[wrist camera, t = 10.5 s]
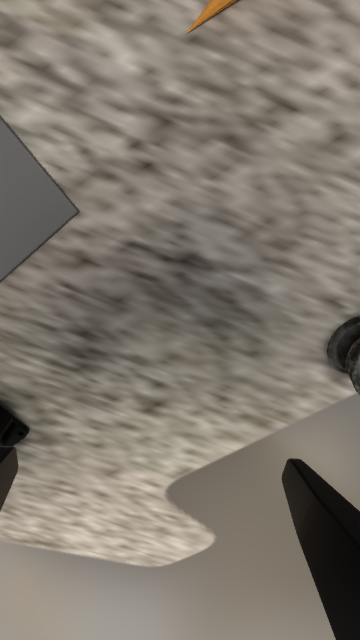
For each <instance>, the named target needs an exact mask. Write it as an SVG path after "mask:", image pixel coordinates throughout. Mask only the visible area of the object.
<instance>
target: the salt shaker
mask: <svg viewBox="0 0 360 640" xmlns="http://www.w3.org/2000/svg"><path fill="white" fill-rule="evenodd" d="M327 354H328V359H329V361H330V364H331V365H332V366H333V367H334V368H335V369H336V370H338V371H340V372H343V373H348V374H349V376H350V379H351V381H352V383H353V385H354V388H355V390H356V391H357V392H358V393H359V394H360V317H357V318H353V319H351V320H349V321H348V322H346V323H344V324H343V325H342V326H341V327H339V328H338V329H337V331H336V332H335V333H334V334H333V336H332V337H331V340H330V342H329V344H328V349H327Z"/></svg>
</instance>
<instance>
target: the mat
mask: <svg viewBox="0 0 360 640" xmlns="http://www.w3.org/2000/svg"><path fill="white" fill-rule="evenodd" d="M77 213H79V210H78V209H77V208H76V207H75V206H74V204H73V203H72V202H71V201H70V199H69V198H68V197H67V196H66V195H65V193H64V192H63V191H62V190H61V189H60V187H59V186H58V185H57V184H56V183H55V181H54V180H53V179H52V178H51V177H50V175H49V174H48V173H47V172H46V171H45V169H44V168H43V167H42V166H41V165H40V163H39V162H38V161H37V160H36V158H35V157H34V156H33V155H32V154H31V152H30V151H29V150H28V149H27V148H26V146H25V145H24V144H23V143H22V142H21V140H20V139H19V138H18V137H17V136H16V134H15V133H14V132H13V131H12V130H11V128H10V127H9V126H8V125H7V123H6V122H5V121H4V120H3V119H2V117H1V116H0V282H1V281H2V280H3V279H4V278H5V277H6V276H8V275H9V274H10V273H11V272H12V271H13V270H14V269H16V268H17V267H18V266H19V265H20V264H21V263H22V262H23V261H25V260H26V259H27V258H28V257H29V256H30V255H31V254H32V253H34V252H35V251H36V250H37V249H38V248H39V247H40V246H41V245H43V244H44V243H45V242H46V241H47V240H48V239H49V238H50V237H52V236H53V235H54V234H55V233H56V232H57V231H58V230H59V229H61V228H62V227H63V226H64V225H65V224H66V223H67V222H68V221H70V220H71V219H72V218H73V217H74V216H75V215H76V214H77Z"/></svg>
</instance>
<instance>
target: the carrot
mask: <svg viewBox="0 0 360 640" xmlns="http://www.w3.org/2000/svg"><path fill="white" fill-rule="evenodd" d="M236 1H237V0H211V1H210V3H209V4H208V5H207V7H206V8H205V9H204V11H203V12H202V13H201V15H200V16H199V17H198V19H197V20H196V21H195V23H194V24H193V25H192V27H191V28H190V29H189V31H188V32H190V31H191V30H193V29H194V28H196V27H197V26H199V25H200V24H202V23H203V22H205V21H206V20H208V19H209V18H211V17H213V16H214V15H216V14H217V13H219V12H220V11H222V10H223V9H225V8H226V7H228V6H229V5H231V4H233V3H234V2H236ZM188 32H187V33H188Z"/></svg>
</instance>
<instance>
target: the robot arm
mask: <svg viewBox="0 0 360 640" xmlns="http://www.w3.org/2000/svg"><path fill="white" fill-rule="evenodd" d="M21 431H22V432H21ZM28 433H29V429H28V428H27V427H26V426H25V425H24V424H22V423H21V422H20V421H19V420H17V419H16V418H15V417H13V416H12V415H11V414H10V413H8V412H7V411H6V410H4V409H3V408H2V407H1V406H0V511H1V509H2V506H3V504H4V502H5V499H6V497H7V495H8V492H9V490H10V488H11V485H12V483H13V481H14V479H15V476H16V474H17V471H18V459H17V452H16V448H15V447H13V445H15V444H16V443H18V442H19V441H20V440H22V439H23V438H25V437H26V436H27V434H28ZM282 483H283V487H284V491H285V494H286V498H287V501H288V505H289V509H290V512H291V516H292V519H293V523H294V526H295V530H296V533H297V536H298V539H299V542H300V544H301V547H302V550H303V553H304V555H305V558H306V561H307V563H308V566H309V568H310V571H311V574H312V577H313V579H314V582H315V585H316V587H317V590H318V592H319V595H320V598H321V601H322V603H323V606H324V609H325V612H326V614H327V617H328V619H329V622H330V625H331V628H332V630H333V633H334V636H335V638H336V640H360V511H359V510H357V509H356V508H355V507H354V506H353V505H352V504H351V503H350V502H348V501H347V500H346V499H345V498H344V497H343V496H342V495H341V494H339V493H338V492H337V491H336V490H335V489H334V488H333V487H332V486H330V485H329V484H328V483H327V482H326V481H325V480H323V478H321V477H320V476H319V475H318V474H317V473H316V472H315V471H314V470H312V469H311V468H310V467H309V466H308V465H307V464H306V463H305V462H303V461H302V460H300V459H292V458H291V459H288V460H287V462H286V465H285V468H284V471H283V474H282Z"/></svg>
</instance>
